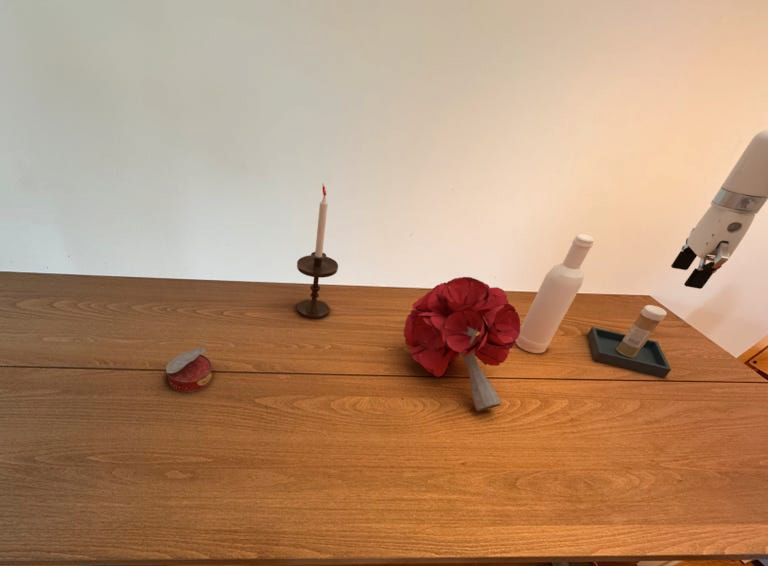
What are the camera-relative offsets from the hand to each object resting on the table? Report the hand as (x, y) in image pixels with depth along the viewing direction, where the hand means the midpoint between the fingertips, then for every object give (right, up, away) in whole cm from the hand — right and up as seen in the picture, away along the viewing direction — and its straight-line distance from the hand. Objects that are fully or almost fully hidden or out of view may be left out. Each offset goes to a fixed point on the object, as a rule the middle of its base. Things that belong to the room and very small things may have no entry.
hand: (685, 277), depth 95 cm
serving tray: (-2, -17, +15) cm, 23 cm away
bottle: (-25, -15, +17) cm, 34 cm away
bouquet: (-51, -22, +6) cm, 56 cm away
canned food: (-112, -23, +1) cm, 115 cm away
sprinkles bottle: (-2, -17, +15) cm, 23 cm away
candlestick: (-83, -5, +25) cm, 87 cm away
